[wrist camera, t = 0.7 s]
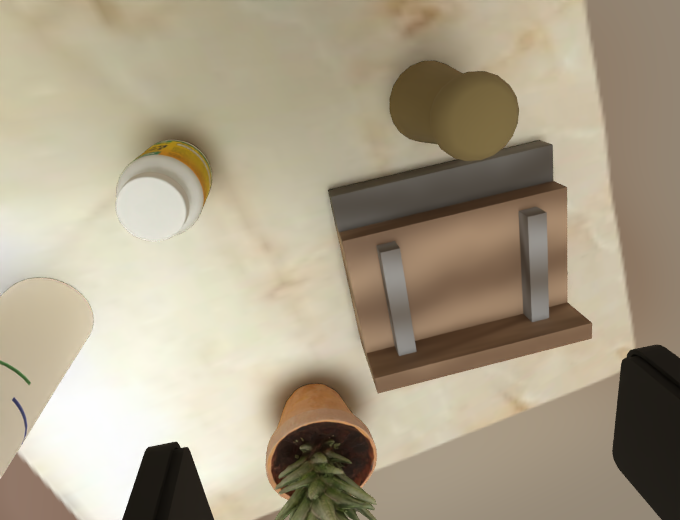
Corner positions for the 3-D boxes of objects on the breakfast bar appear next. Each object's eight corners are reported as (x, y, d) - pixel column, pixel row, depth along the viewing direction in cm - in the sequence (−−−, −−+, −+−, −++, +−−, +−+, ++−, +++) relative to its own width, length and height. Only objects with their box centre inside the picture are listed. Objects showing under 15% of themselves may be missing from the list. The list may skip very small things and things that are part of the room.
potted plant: (381, 397, 48) (481, 696, 26) (320, 458, 51) (364, 784, 28) (304, 348, 45) (341, 644, 22) (241, 416, 47) (219, 749, 25)
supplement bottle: (181, 220, 39) (157, 270, 30) (125, 173, 37) (81, 211, 28) (228, 173, 38) (216, 210, 29) (172, 122, 36) (142, 145, 27)
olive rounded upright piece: (383, 69, 36) (428, 77, 26) (461, 52, 37) (534, 53, 27) (395, 149, 39) (440, 183, 29) (467, 132, 39) (537, 160, 29)
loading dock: (328, 190, 39) (341, 219, 32) (539, 140, 40) (595, 158, 33) (361, 342, 46) (377, 393, 39) (543, 296, 46) (591, 338, 40)
